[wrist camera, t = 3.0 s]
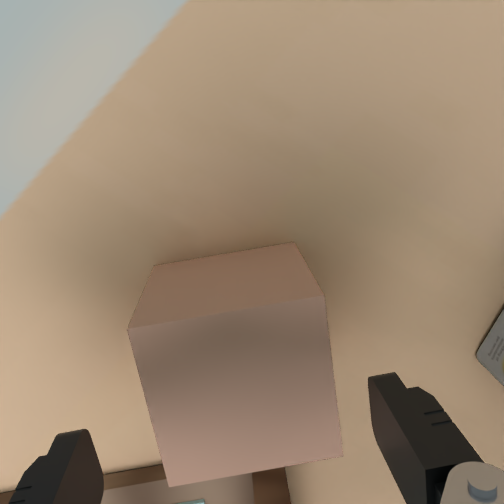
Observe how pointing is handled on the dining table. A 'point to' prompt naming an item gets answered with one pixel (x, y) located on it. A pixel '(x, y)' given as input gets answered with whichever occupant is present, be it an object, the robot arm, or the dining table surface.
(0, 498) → the tray
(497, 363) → the coffee box
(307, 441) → the cube
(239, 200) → the dining table surface
